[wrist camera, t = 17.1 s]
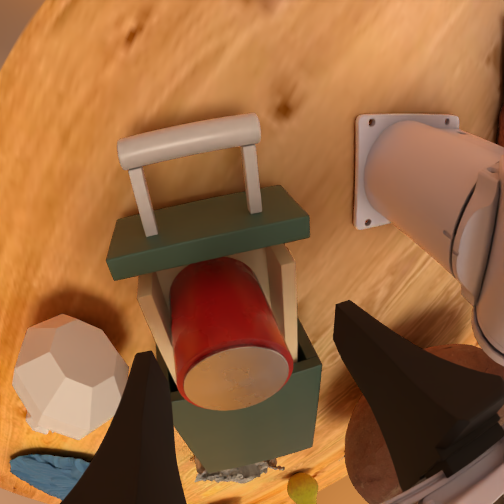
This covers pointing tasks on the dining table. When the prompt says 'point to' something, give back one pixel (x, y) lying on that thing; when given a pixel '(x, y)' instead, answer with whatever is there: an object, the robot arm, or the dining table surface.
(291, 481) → the fruit
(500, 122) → the pastry
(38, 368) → the chicken leg
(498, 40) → the dining table surface
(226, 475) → the grey jagged hollow block
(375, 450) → the jug
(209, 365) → the drink tin
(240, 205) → the green drawer
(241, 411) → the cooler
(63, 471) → the blue ocean wave diorama
